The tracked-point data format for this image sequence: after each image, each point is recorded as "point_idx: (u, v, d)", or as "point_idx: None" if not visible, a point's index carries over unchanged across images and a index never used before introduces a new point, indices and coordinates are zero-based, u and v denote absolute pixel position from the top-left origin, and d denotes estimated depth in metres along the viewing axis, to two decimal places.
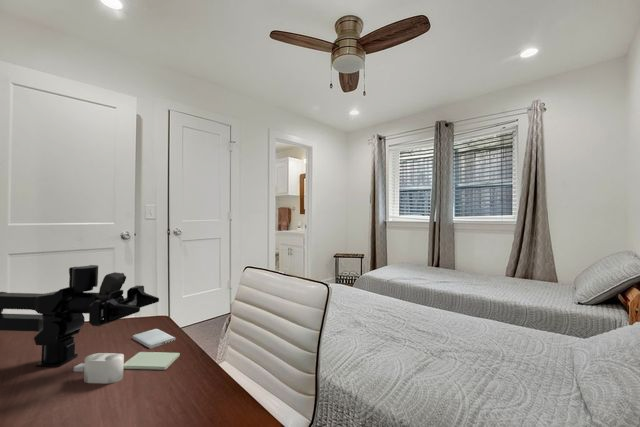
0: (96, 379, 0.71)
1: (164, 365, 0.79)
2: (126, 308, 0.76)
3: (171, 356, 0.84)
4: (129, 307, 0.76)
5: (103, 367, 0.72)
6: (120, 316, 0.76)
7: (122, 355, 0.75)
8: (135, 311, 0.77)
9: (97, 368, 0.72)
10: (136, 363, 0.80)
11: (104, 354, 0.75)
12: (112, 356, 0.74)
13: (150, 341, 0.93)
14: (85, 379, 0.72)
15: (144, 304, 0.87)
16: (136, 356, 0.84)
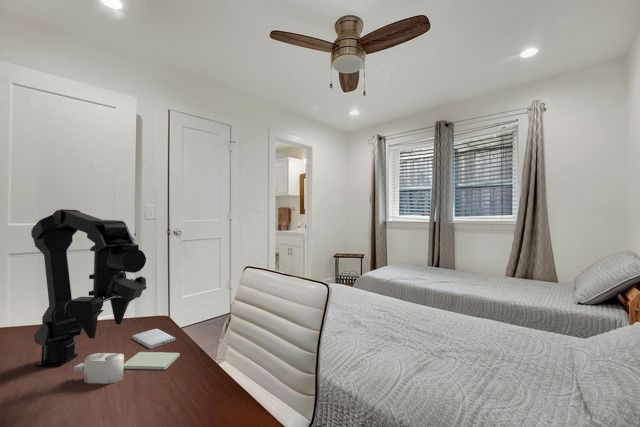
0: (96, 379, 0.71)
1: (164, 365, 0.79)
2: (91, 327, 0.68)
3: (171, 356, 0.84)
4: (92, 330, 0.68)
5: (103, 367, 0.72)
6: (81, 323, 0.68)
7: (122, 355, 0.75)
8: (89, 335, 0.69)
9: (97, 368, 0.72)
10: (136, 363, 0.80)
11: (104, 354, 0.75)
12: (112, 357, 0.74)
13: (150, 341, 0.93)
14: (85, 379, 0.72)
15: (113, 307, 0.79)
16: (136, 356, 0.84)
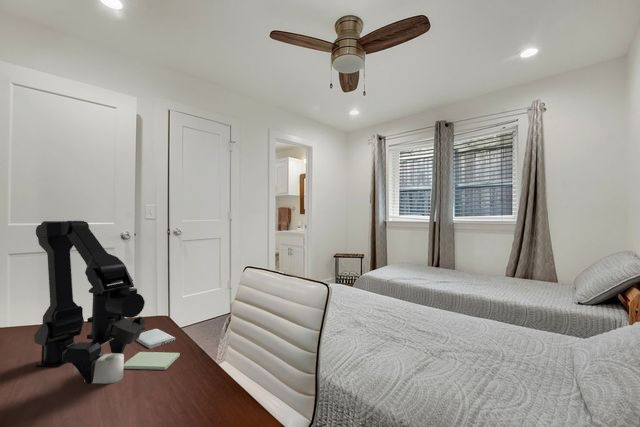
0: (96, 379, 0.71)
1: (164, 365, 0.79)
2: (89, 373, 0.68)
3: (171, 356, 0.84)
4: (90, 375, 0.68)
5: (103, 367, 0.72)
6: (79, 369, 0.68)
7: (122, 355, 0.75)
8: (86, 380, 0.69)
9: (97, 368, 0.72)
10: (136, 363, 0.80)
11: (104, 354, 0.75)
12: (112, 357, 0.74)
13: (150, 341, 0.93)
14: None
15: (112, 347, 0.78)
16: (136, 356, 0.84)
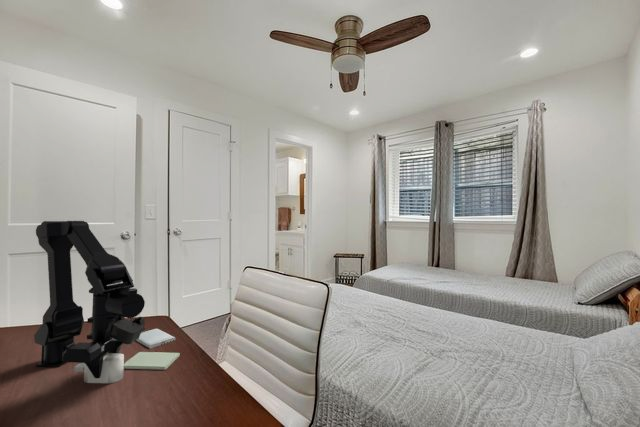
0: (96, 379, 0.72)
1: (164, 365, 0.79)
2: (96, 368, 0.70)
3: (171, 356, 0.84)
4: (98, 370, 0.71)
5: (103, 367, 0.72)
6: (87, 364, 0.70)
7: (122, 355, 0.75)
8: (94, 375, 0.71)
9: None
10: (136, 363, 0.80)
11: None
12: (112, 356, 0.74)
13: (150, 341, 0.93)
14: (85, 379, 0.72)
15: None
16: (136, 356, 0.84)
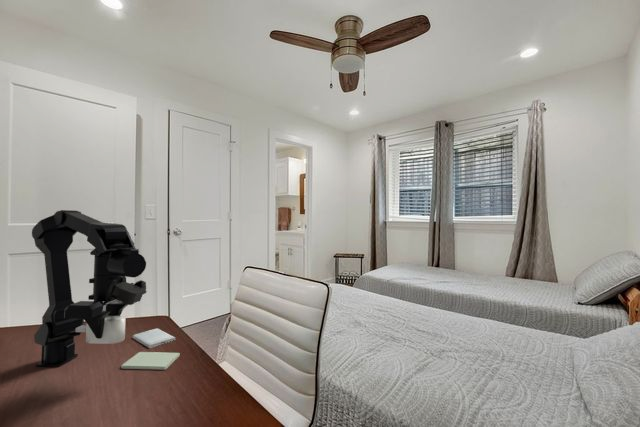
0: (98, 339, 0.72)
1: (164, 365, 0.79)
2: (98, 328, 0.71)
3: (171, 356, 0.84)
4: (100, 330, 0.71)
5: (104, 328, 0.72)
6: (89, 323, 0.70)
7: (124, 317, 0.75)
8: (96, 335, 0.71)
9: None
10: (136, 363, 0.80)
11: (106, 316, 0.75)
12: (114, 318, 0.74)
13: (150, 341, 0.93)
14: (87, 339, 0.72)
15: (107, 314, 0.76)
16: (136, 356, 0.84)
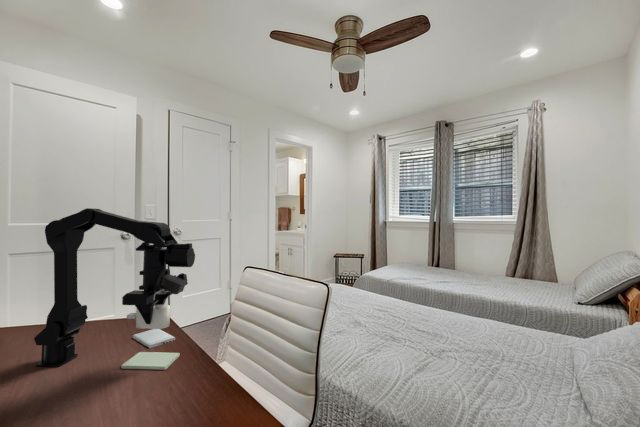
0: (147, 325, 0.81)
1: (164, 365, 0.79)
2: (148, 315, 0.79)
3: (171, 356, 0.84)
4: (149, 317, 0.80)
5: (153, 315, 0.81)
6: (140, 310, 0.79)
7: (168, 305, 0.84)
8: (146, 321, 0.80)
9: None
10: (136, 363, 0.80)
11: None
12: (160, 306, 0.83)
13: (150, 341, 0.94)
14: (137, 325, 0.81)
15: None
16: (136, 356, 0.84)
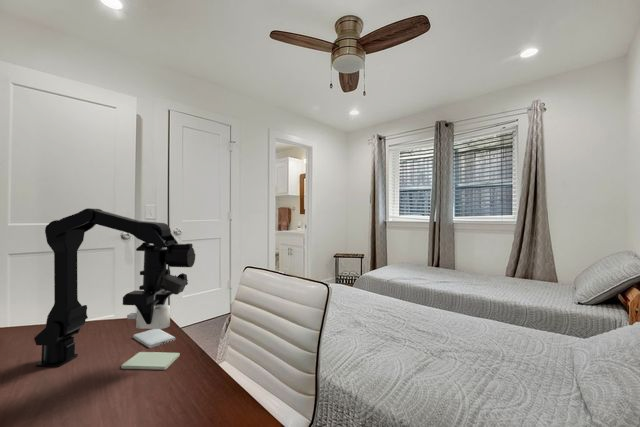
0: (147, 325, 0.81)
1: (164, 365, 0.79)
2: (148, 315, 0.80)
3: (171, 356, 0.84)
4: (150, 317, 0.80)
5: (153, 315, 0.81)
6: (140, 310, 0.79)
7: (169, 306, 0.84)
8: (146, 321, 0.80)
9: None
10: (136, 363, 0.80)
11: None
12: (160, 306, 0.83)
13: (150, 341, 0.94)
14: (138, 325, 0.81)
15: None
16: (136, 356, 0.84)
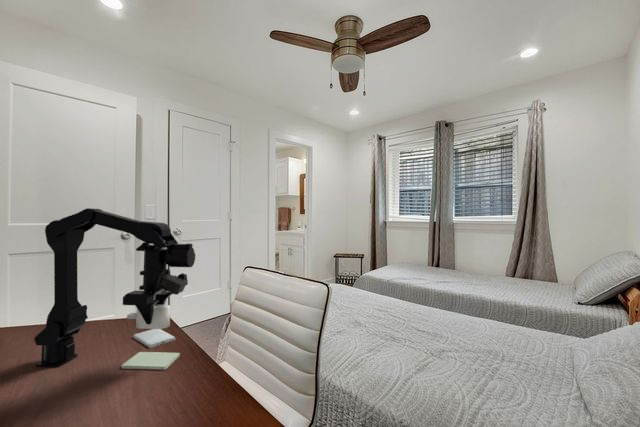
0: (147, 325, 0.81)
1: (164, 365, 0.79)
2: (148, 315, 0.80)
3: (171, 356, 0.84)
4: (150, 317, 0.80)
5: (153, 315, 0.81)
6: (140, 310, 0.79)
7: (169, 306, 0.84)
8: (146, 321, 0.80)
9: None
10: (136, 363, 0.80)
11: None
12: (160, 306, 0.83)
13: (150, 341, 0.94)
14: (138, 325, 0.81)
15: None
16: (136, 356, 0.84)
